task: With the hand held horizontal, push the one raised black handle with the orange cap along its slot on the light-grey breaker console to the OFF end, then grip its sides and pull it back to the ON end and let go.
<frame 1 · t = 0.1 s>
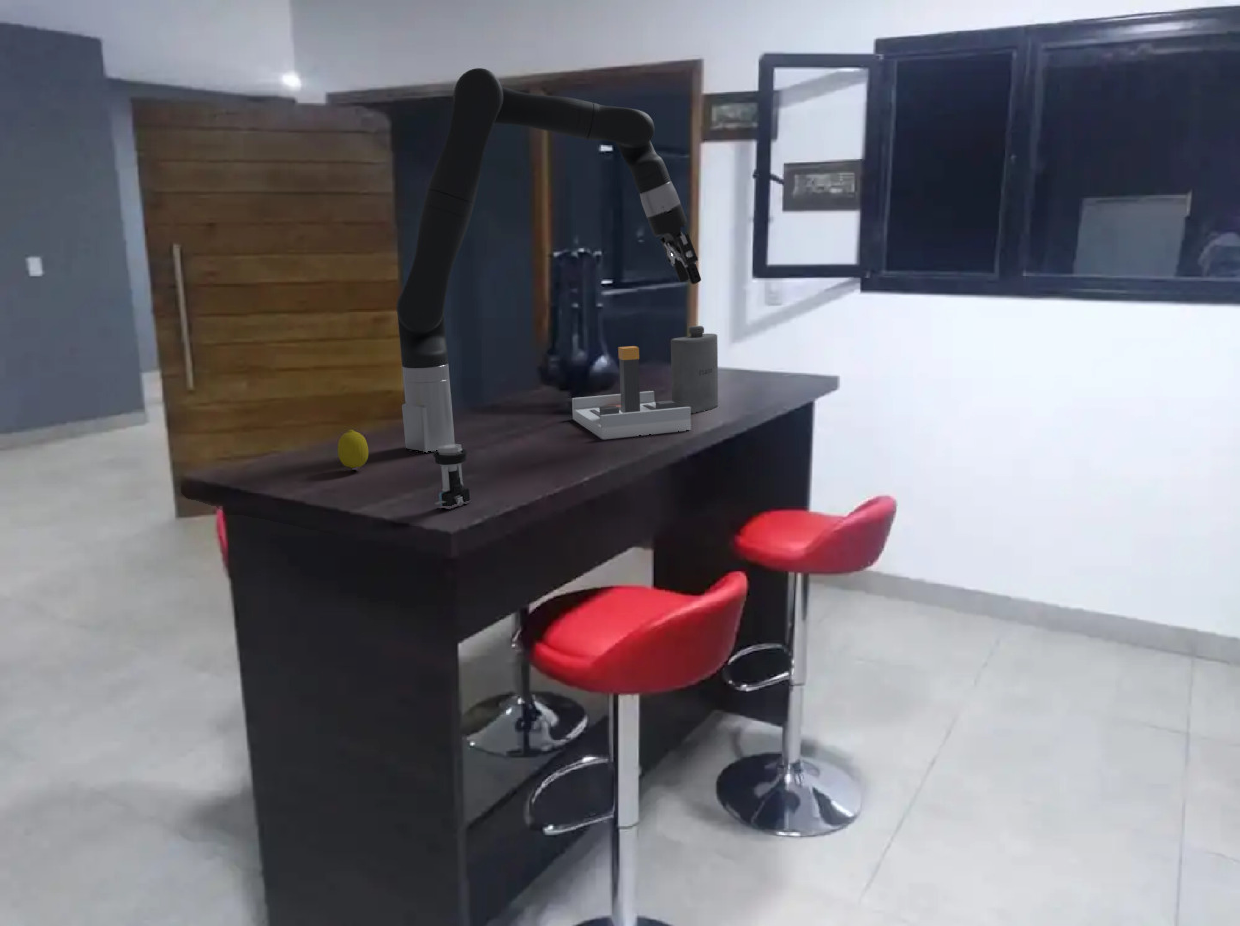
hand: (690, 281, 193), 31 cm above the table, tool tilted 20°, fingers open, 8 cm apart
flask: (696, 410, 219), on the table
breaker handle: (629, 380, 201), point 10 cm above the table, slide at 5.0 cm
lemon: (355, 472, 172), on the table
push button: (451, 508, 146), on the table
breaker console: (629, 424, 205), on the table
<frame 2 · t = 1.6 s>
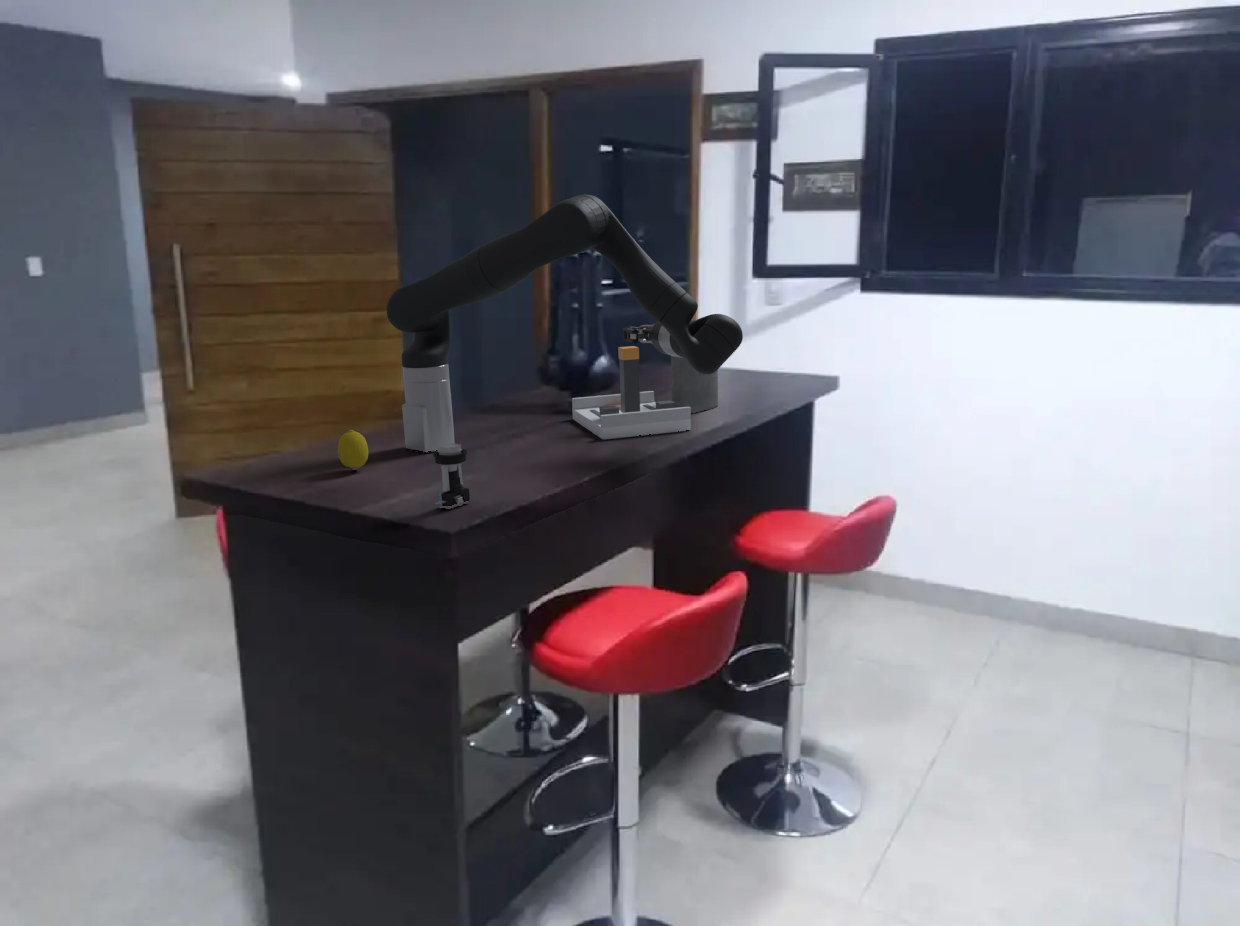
hand: (647, 330, 186), 22 cm above the table, tool horizontal, fingers open, 8 cm apart
nothing on the table moved.
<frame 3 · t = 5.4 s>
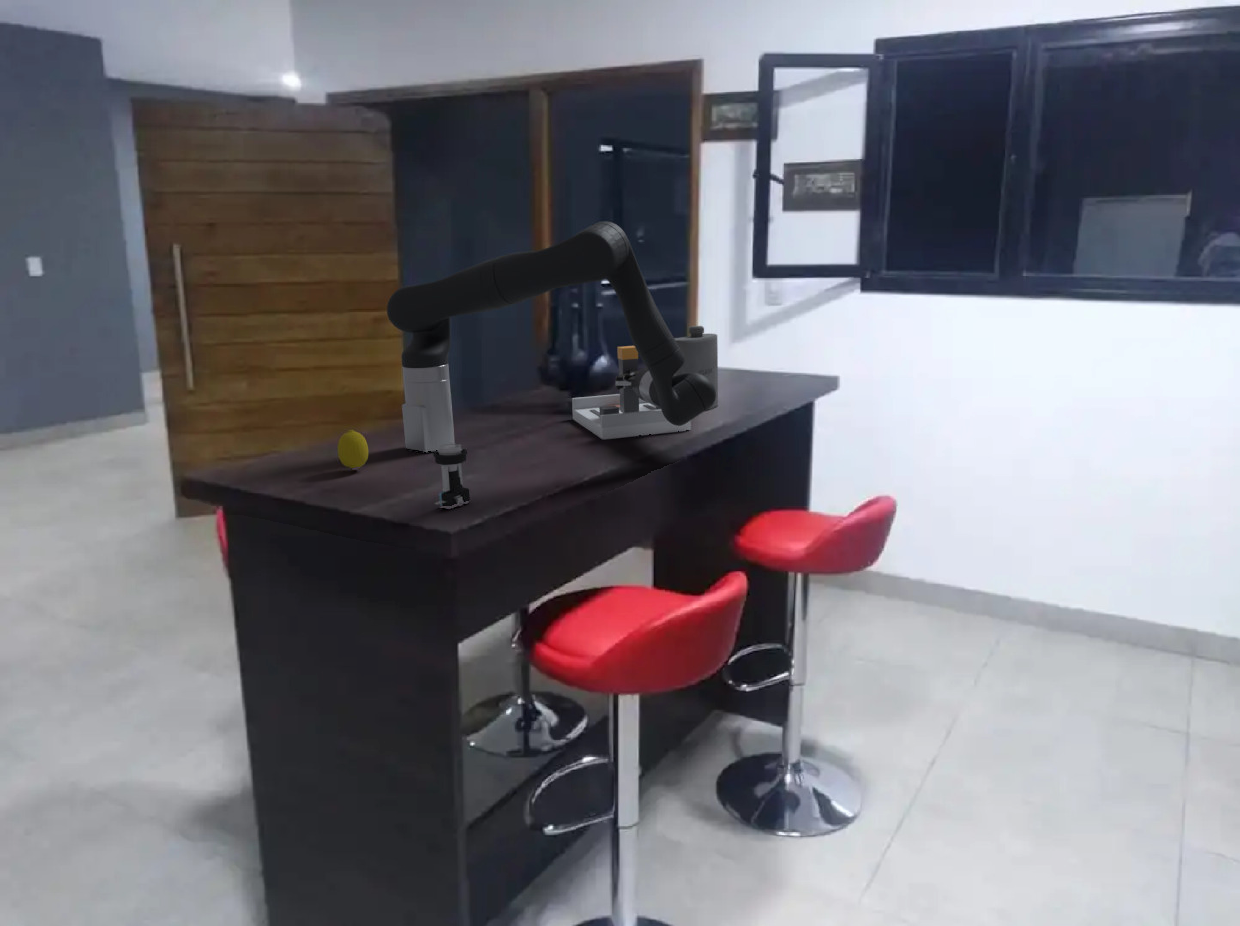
hand: (630, 375, 200), 11 cm above the table, tool horizontal, fingers closed
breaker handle: (628, 379, 202), point 10 cm above the table, slide at 5.7 cm, touching gripper
everything else where it was.
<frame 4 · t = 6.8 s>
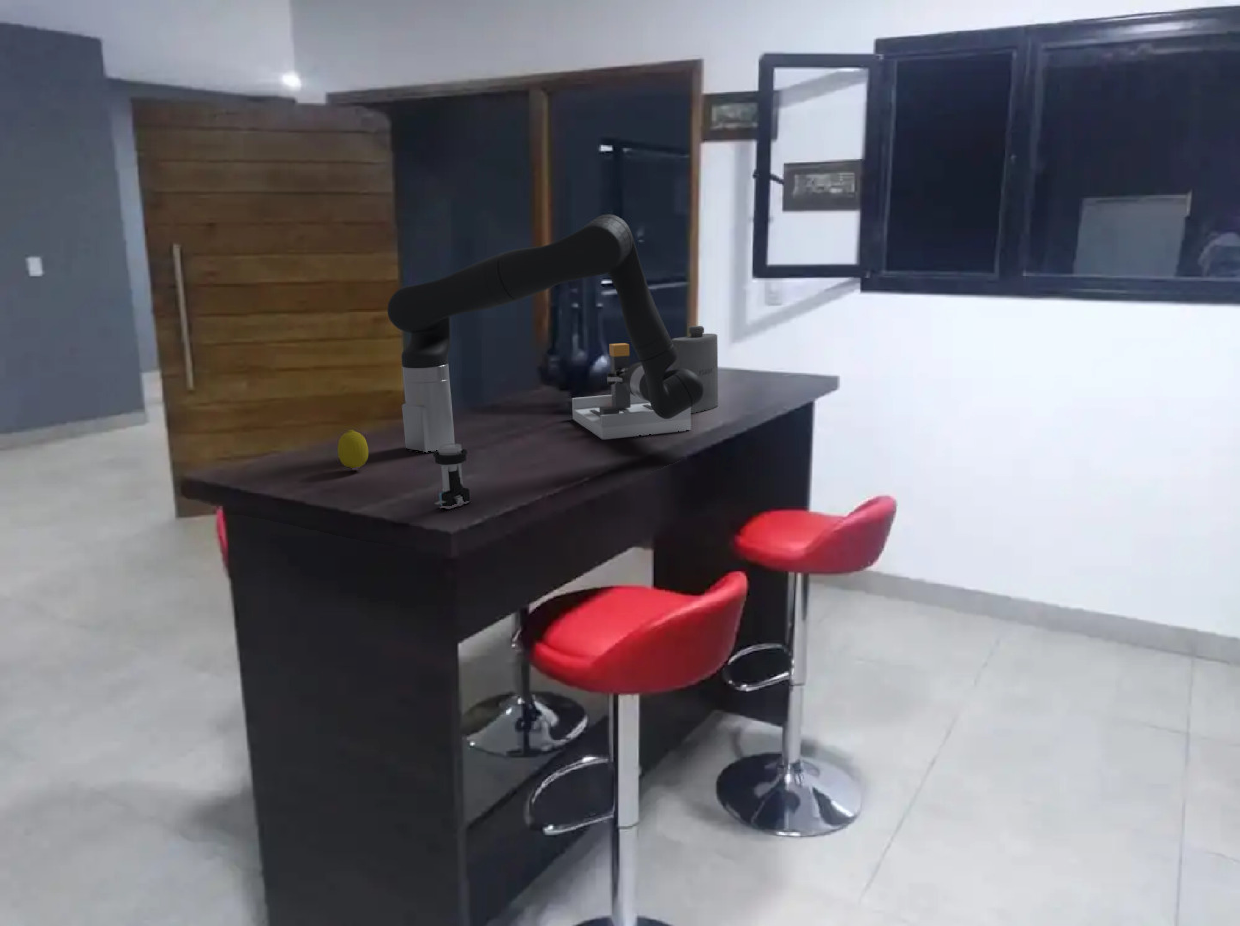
hand: (621, 371, 206), 11 cm above the table, tool horizontal, fingers closed
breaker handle: (620, 376, 207), point 10 cm above the table, slide at 11.7 cm, touching gripper
everything else where it was.
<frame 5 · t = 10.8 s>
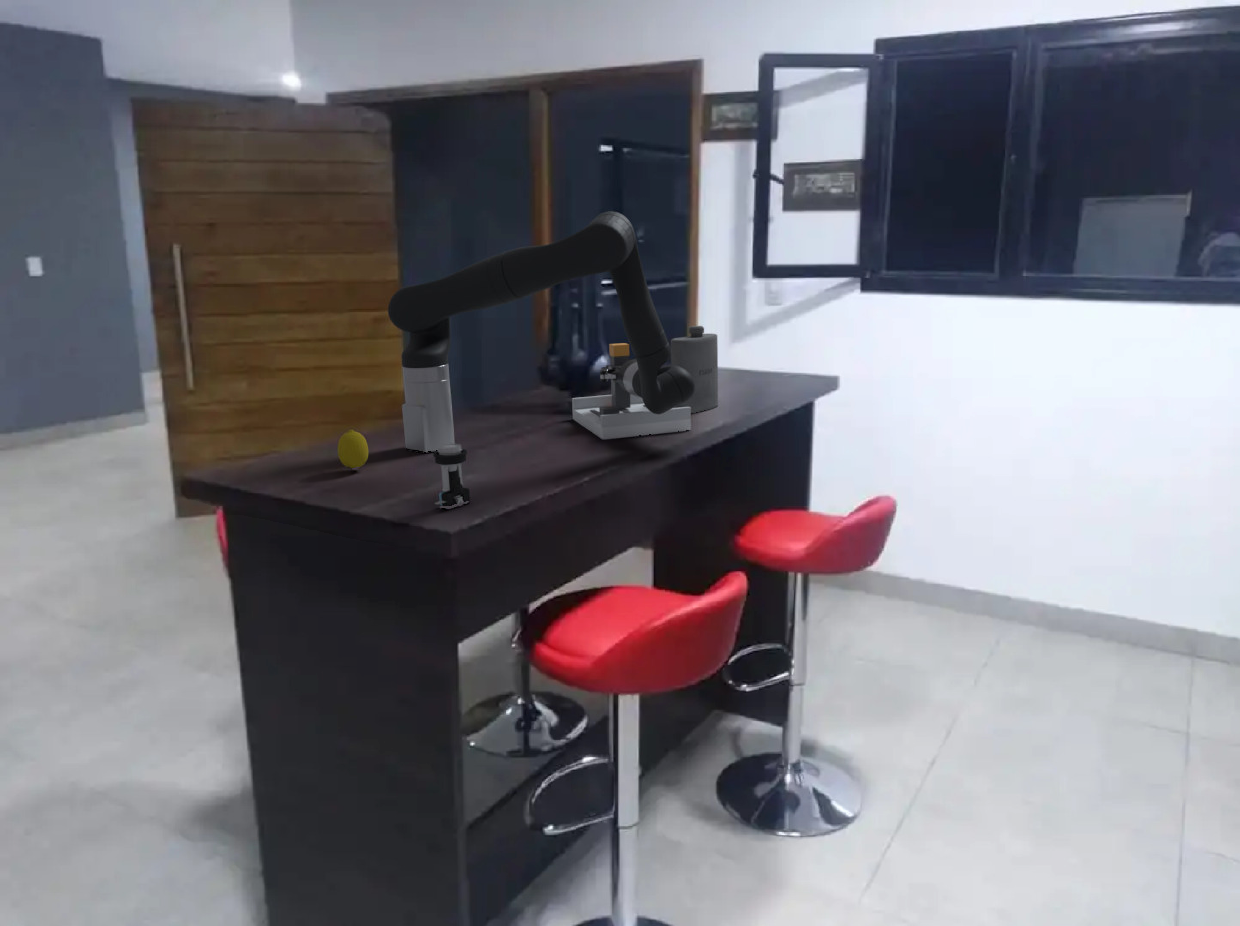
hand: (616, 369, 210), 12 cm above the table, tool horizontal, fingers closed on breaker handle, 3 cm apart
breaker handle: (620, 376, 207), point 10 cm above the table, slide at 11.8 cm, touching gripper
everything else where it was.
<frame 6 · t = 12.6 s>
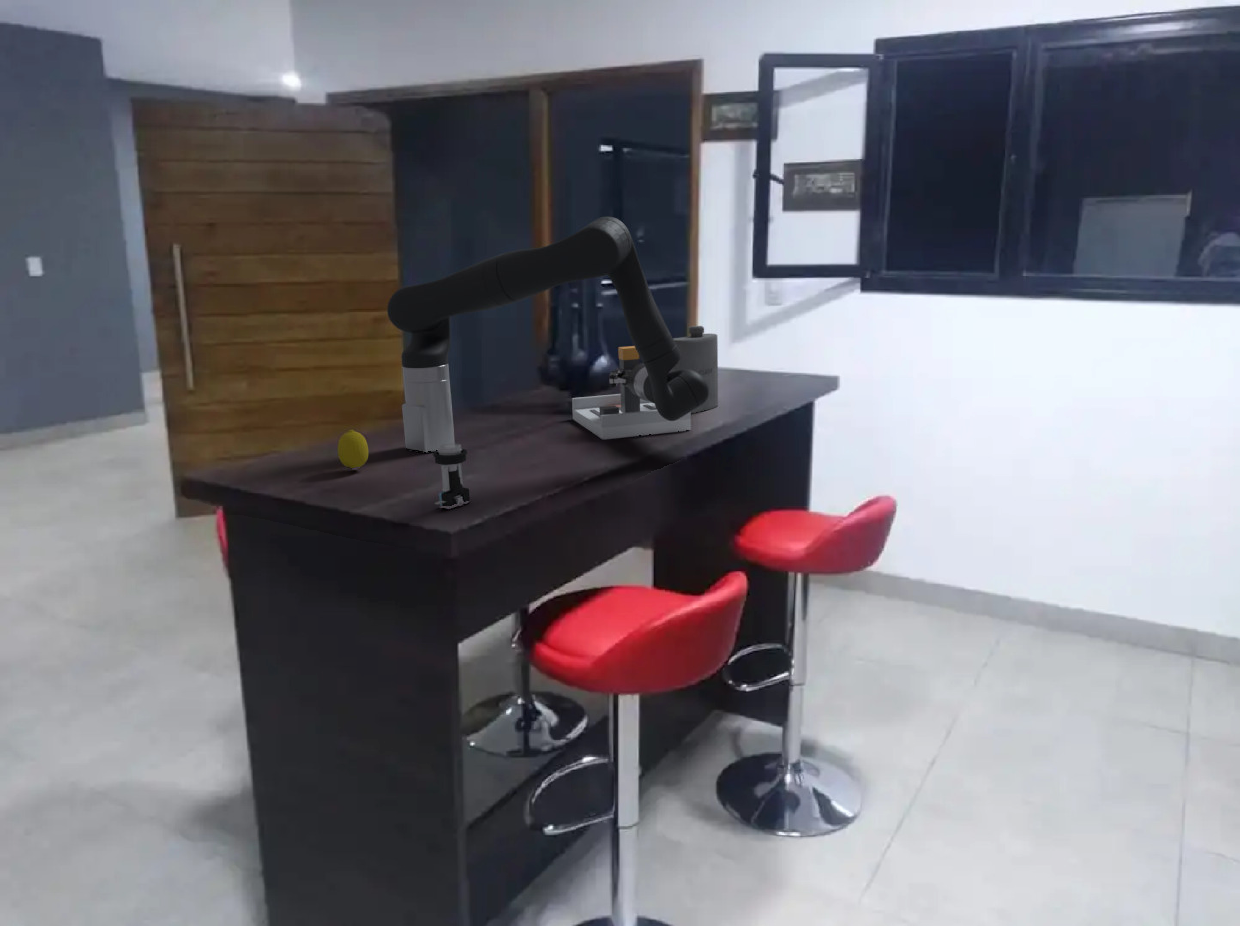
hand: (625, 372, 203), 11 cm above the table, tool horizontal, fingers closed on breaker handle, 3 cm apart
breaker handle: (629, 380, 201), point 10 cm above the table, slide at 5.0 cm, touching gripper
everything else where it was.
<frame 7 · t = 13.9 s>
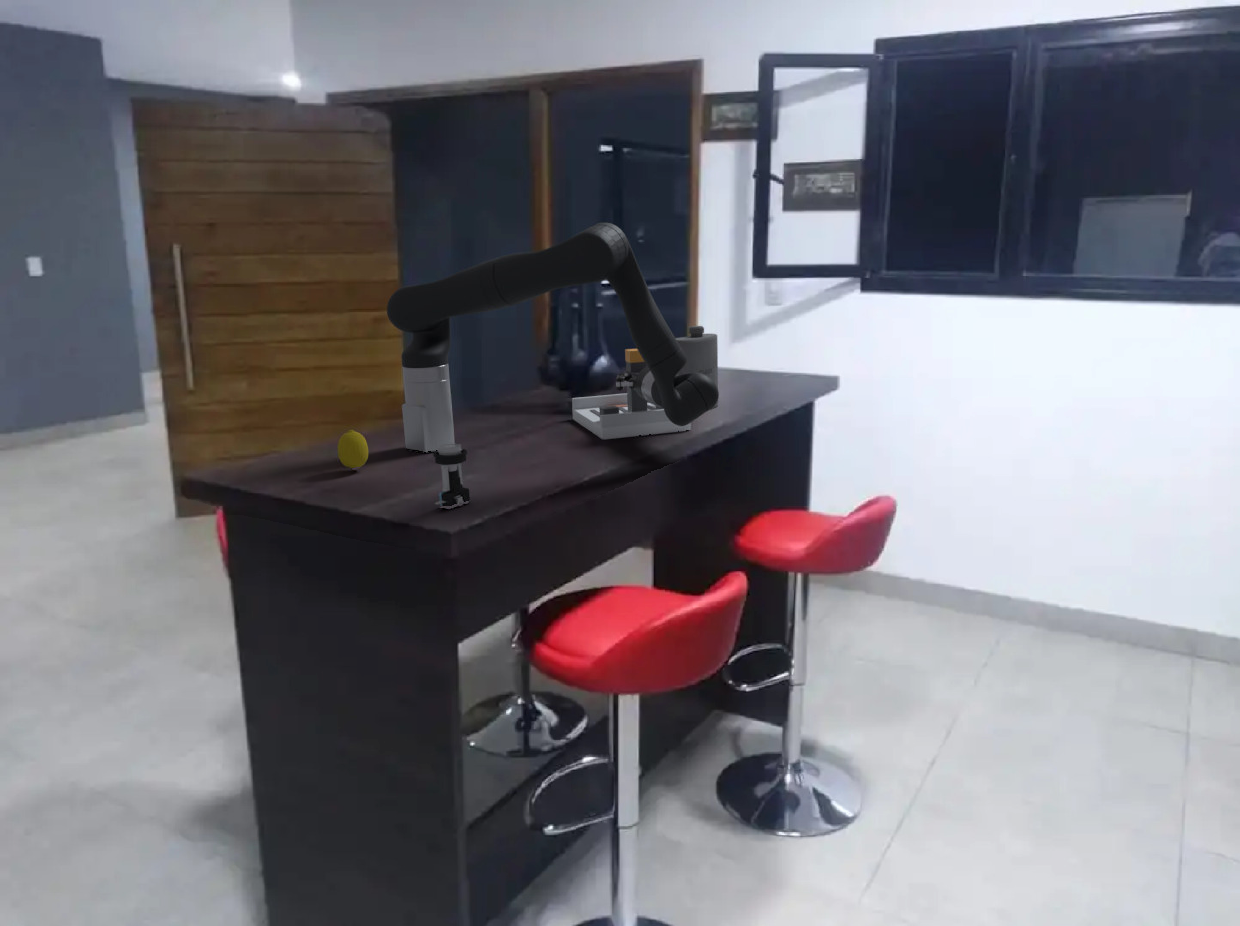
hand: (632, 375, 199), 11 cm above the table, tool horizontal, fingers closed on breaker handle, 3 cm apart
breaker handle: (636, 383, 197), point 10 cm above the table, slide at 0.2 cm, touching gripper
everything else where it was.
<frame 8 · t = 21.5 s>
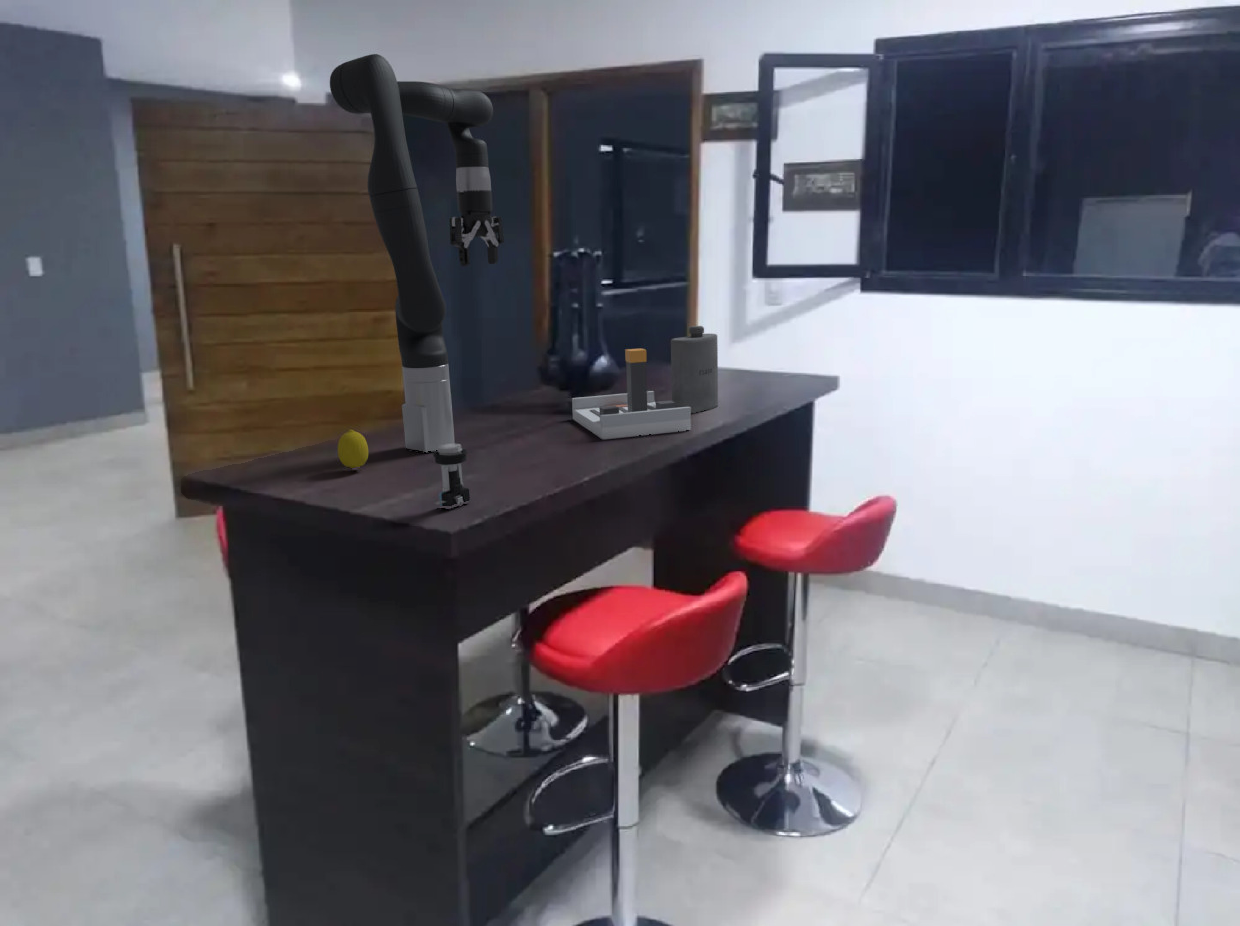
hand: (479, 264, 204), 36 cm above the table, tool pointing down, fingers open, 8 cm apart
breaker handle: (636, 383, 197), point 10 cm above the table, slide at 0.2 cm
everything else where it was.
at the end: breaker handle slide at 0.2 cm; the gripper is holding nothing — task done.
